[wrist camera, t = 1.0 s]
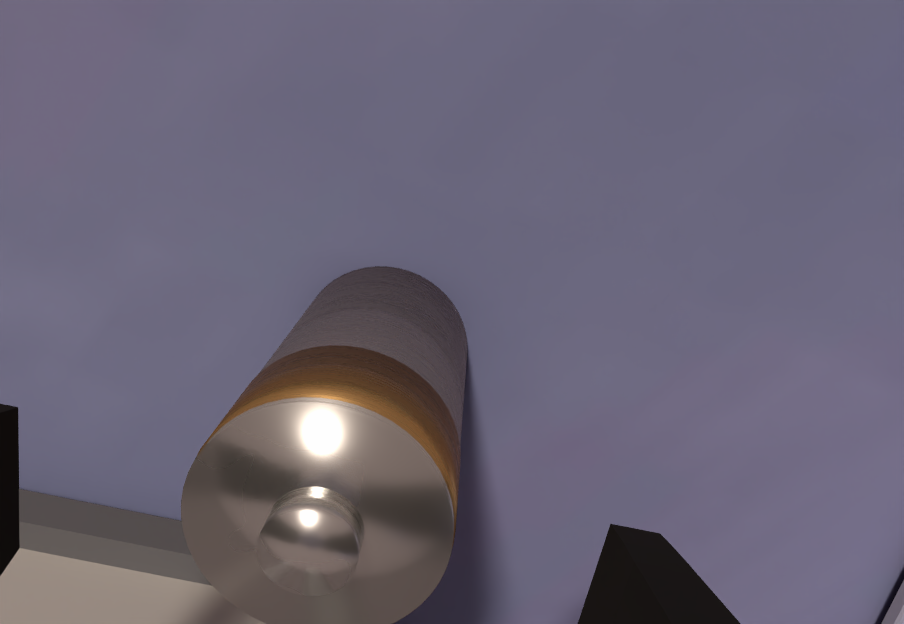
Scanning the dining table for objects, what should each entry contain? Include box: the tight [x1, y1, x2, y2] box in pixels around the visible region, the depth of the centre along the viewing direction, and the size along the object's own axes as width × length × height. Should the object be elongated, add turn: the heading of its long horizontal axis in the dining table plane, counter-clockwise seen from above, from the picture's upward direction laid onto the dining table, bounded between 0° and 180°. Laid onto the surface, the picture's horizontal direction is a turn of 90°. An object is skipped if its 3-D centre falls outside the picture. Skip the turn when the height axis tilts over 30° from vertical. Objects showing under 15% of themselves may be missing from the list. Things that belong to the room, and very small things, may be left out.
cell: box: [181, 266, 467, 624], centre depth 11 cm, size 4×3×6 cm
